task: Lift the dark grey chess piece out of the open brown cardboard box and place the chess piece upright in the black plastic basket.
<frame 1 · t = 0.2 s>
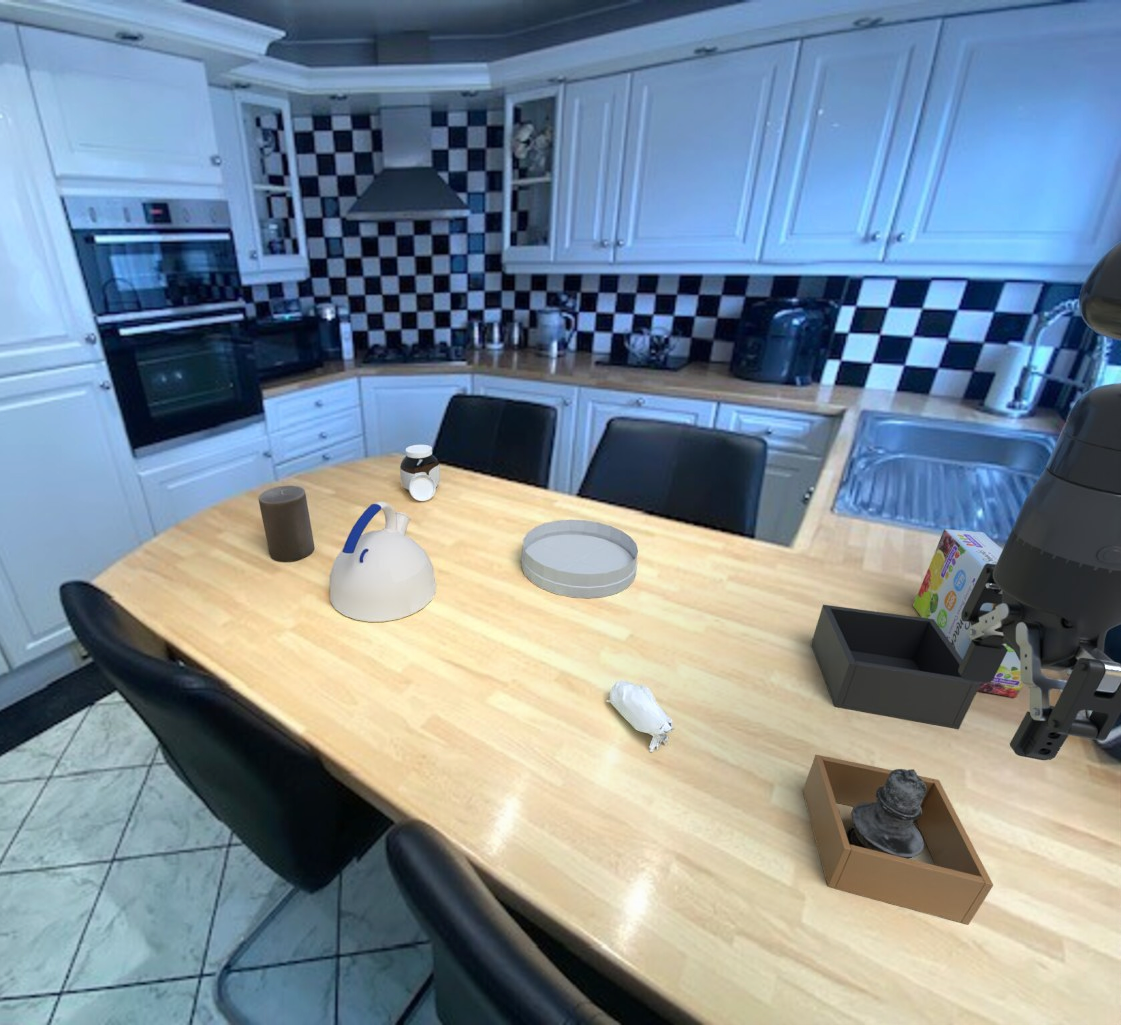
hand: (998, 713, 46), 22 cm above the countertop, tool pointing down, fingers open, 8 cm apart
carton: (876, 850, 58), on the countertop
dark grey chess piece: (875, 851, 58), resting in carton
dish: (577, 567, 111), on the countertop
spread jar: (422, 493, 147), on the countertop
kettle: (384, 591, 106), on the countertop
basket: (877, 682, 79), on the countertop
snack box: (959, 648, 85), on the countertop
white oblong lumpy piece: (635, 722, 75), on the countertop
pillar candle: (292, 551, 122), on the countertop
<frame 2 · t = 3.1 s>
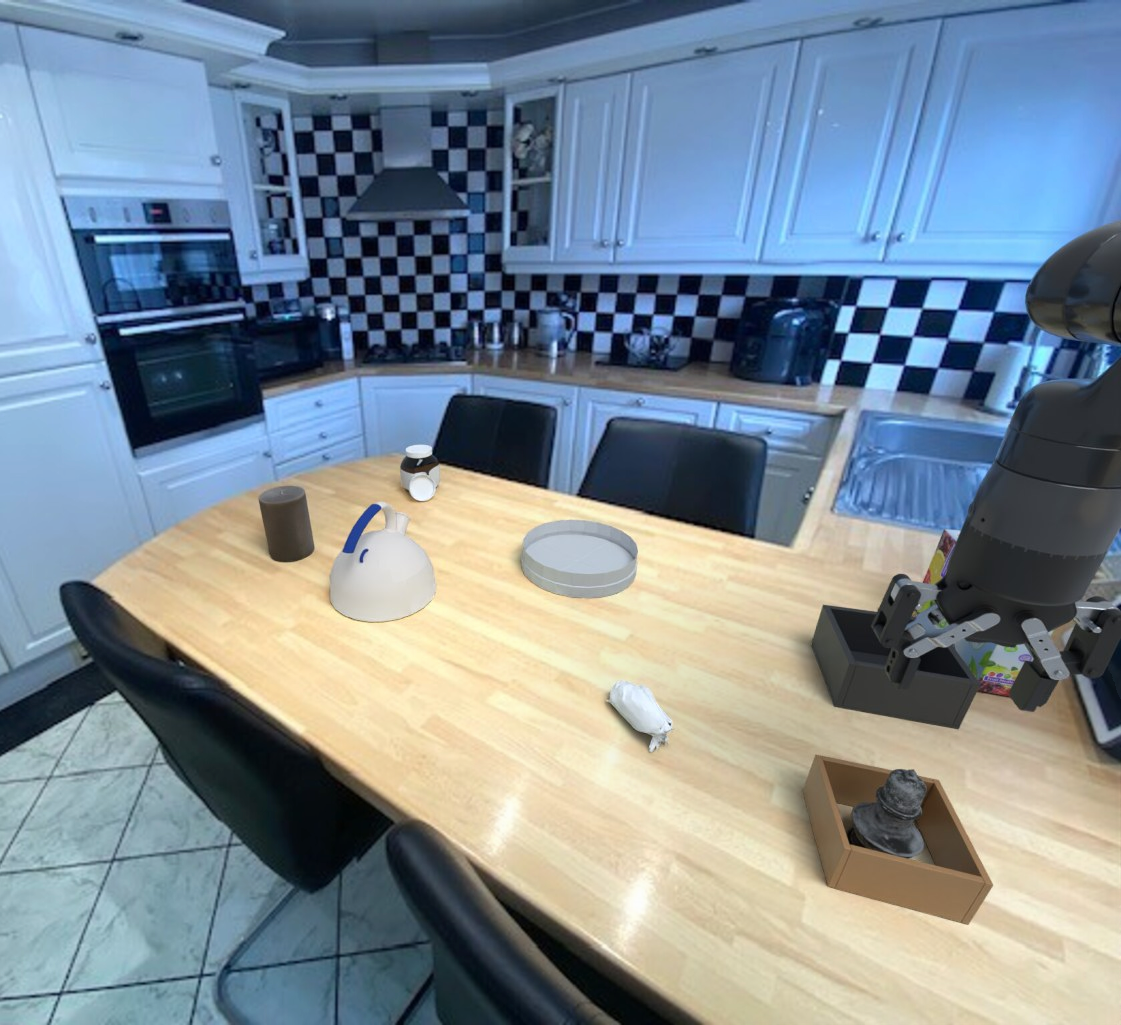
hand: (957, 693, 48), 22 cm above the countertop, tool pointing down, fingers open, 8 cm apart
nothing on the countertop moved.
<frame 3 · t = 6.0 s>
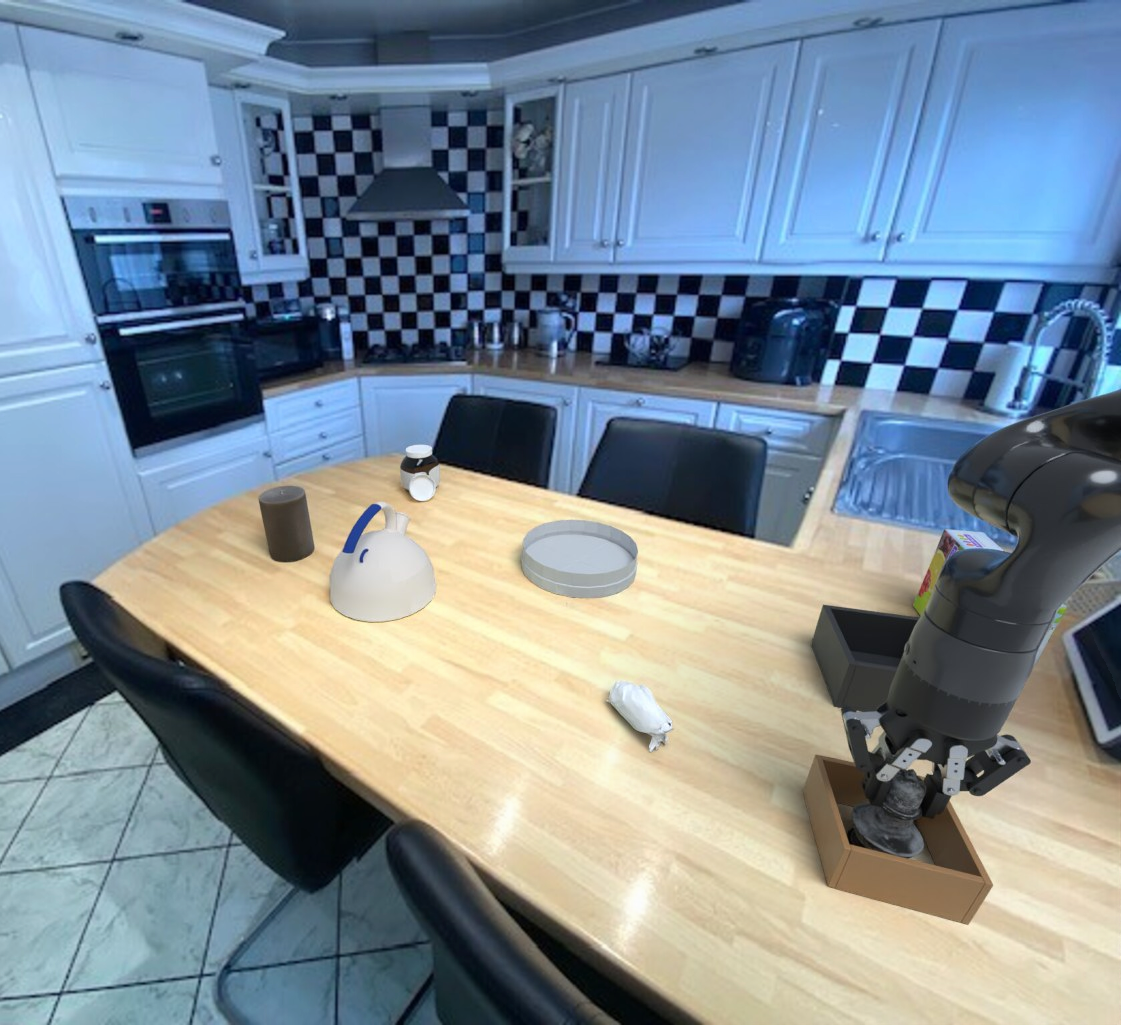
hand: (898, 803, 55), 7 cm above the countertop, tool pointing down, fingers closed on dark grey chess piece, 3 cm apart
dark grey chess piece: (876, 851, 58), resting in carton, touching gripper
everything else where it was.
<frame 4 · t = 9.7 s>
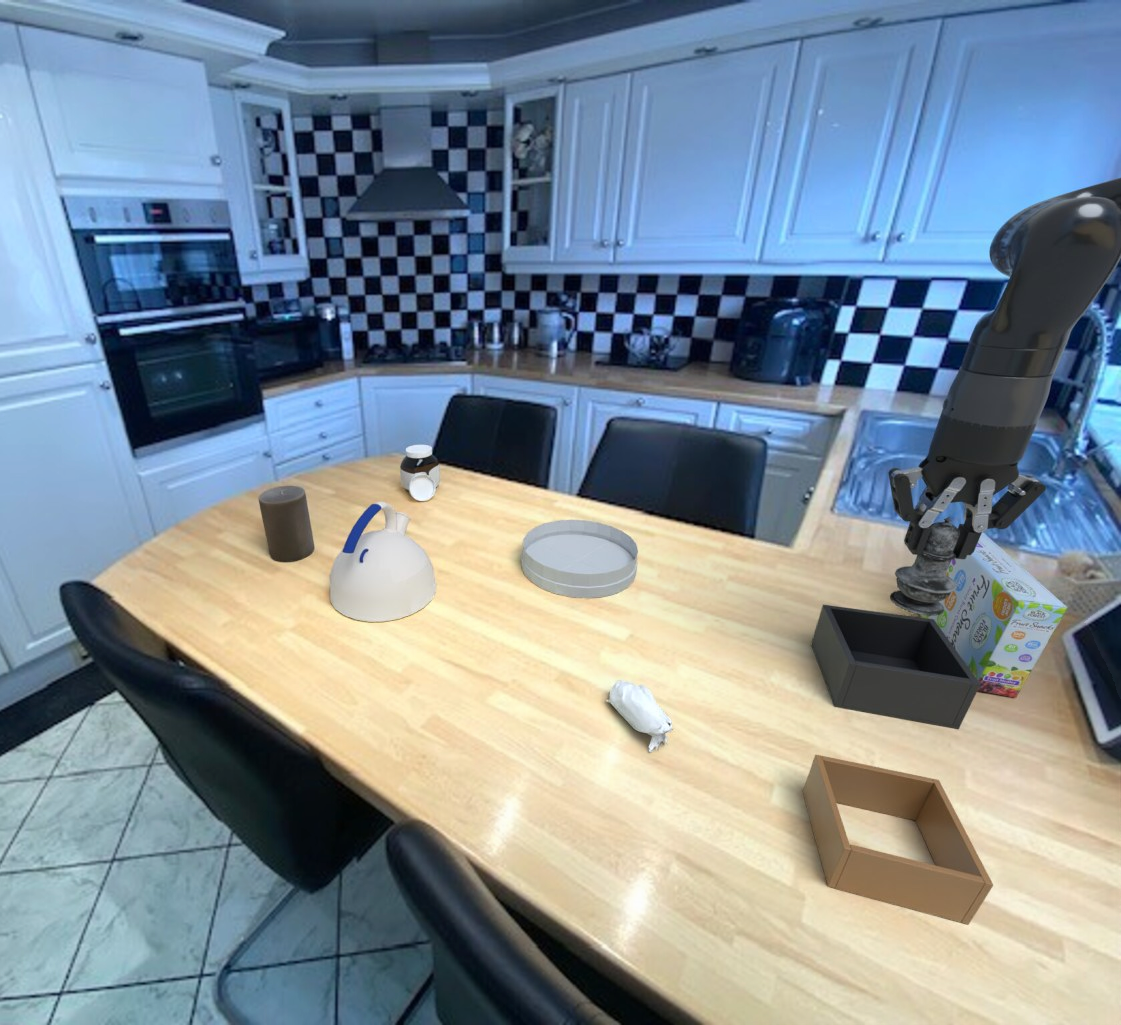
hand: (935, 553, 67), 23 cm above the countertop, tool pointing down, fingers closed on dark grey chess piece, 3 cm apart
dark grey chess piece: (915, 604, 70), point 16 cm above the countertop, touching gripper
everything else where it was.
when the fingers open (8 cm above the countertop, at t = 13.8 s): dark grey chess piece stays where it is, resting on basket.
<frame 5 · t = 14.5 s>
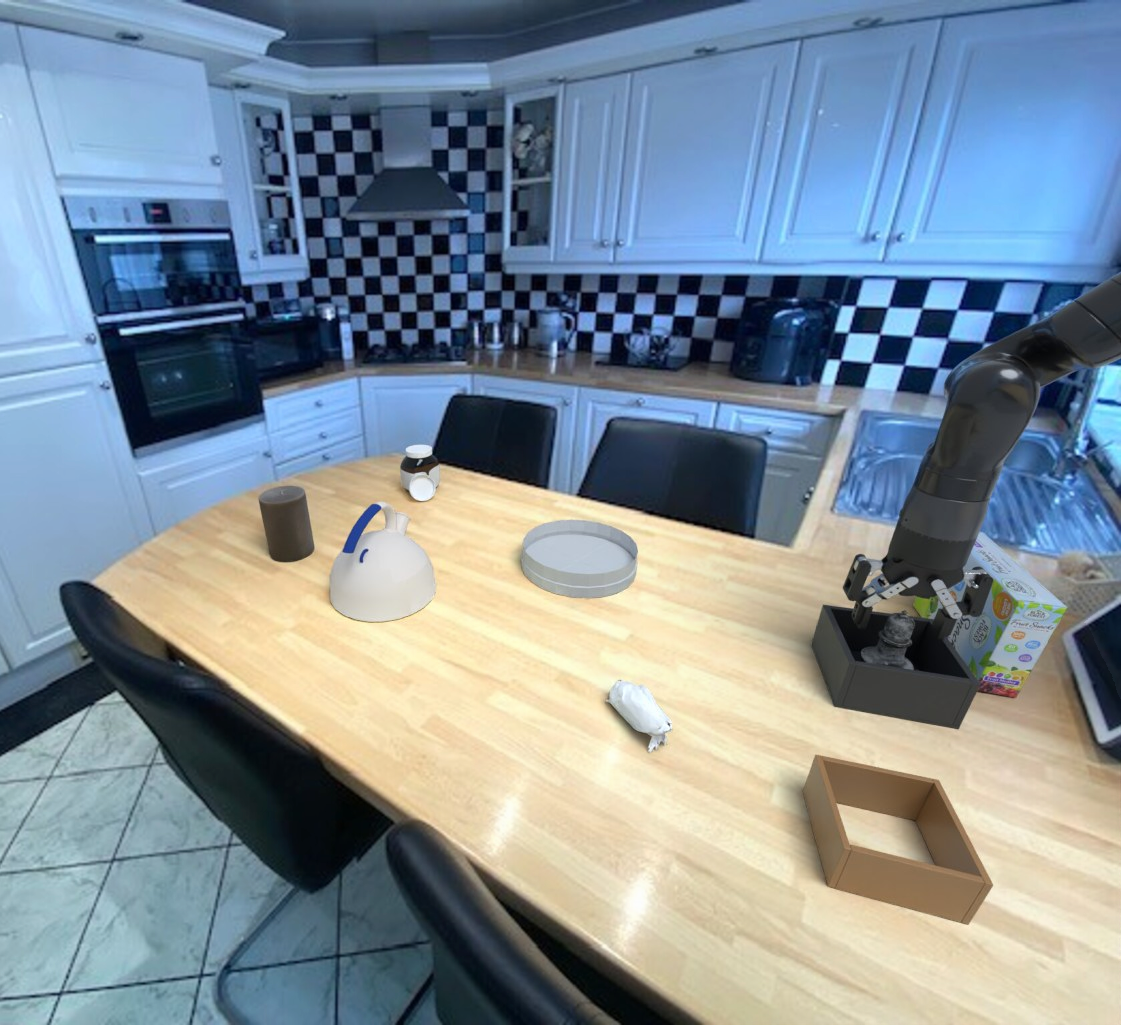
hand: (897, 631, 75), 9 cm above the countertop, tool pointing down, fingers open, 8 cm apart
dark grey chess piece: (878, 681, 79), resting on basket
everything else where it was.
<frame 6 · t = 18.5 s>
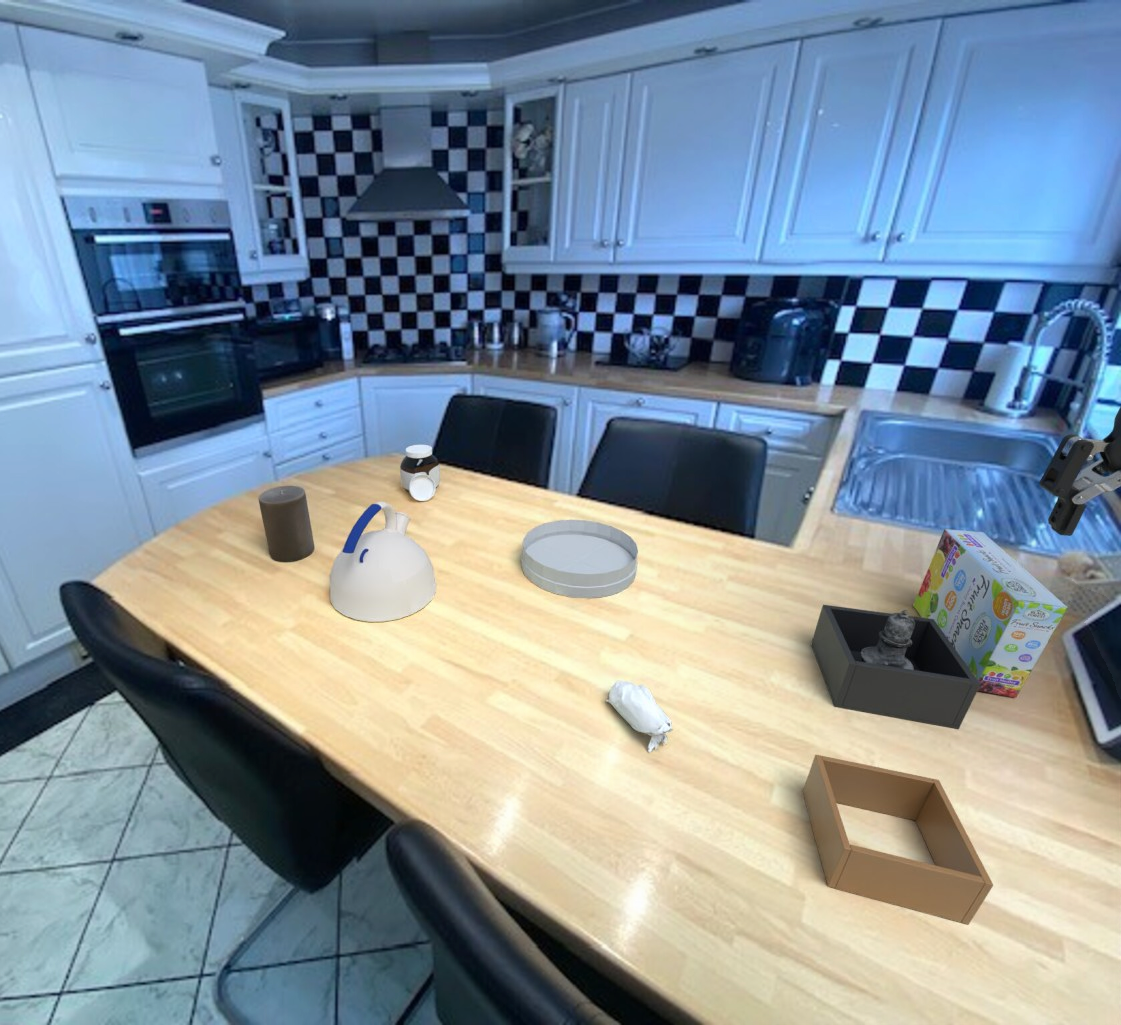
hand: (1113, 537, 58), 28 cm above the countertop, tool pointing down, fingers open, 8 cm apart
nothing on the countertop moved.
at the end: dark grey chess piece inside the target area in the basket (0.1 cm from its centre), point 0.3 cm above the basket's base; dark grey chess piece tilted 0°; the gripper is holding nothing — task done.
